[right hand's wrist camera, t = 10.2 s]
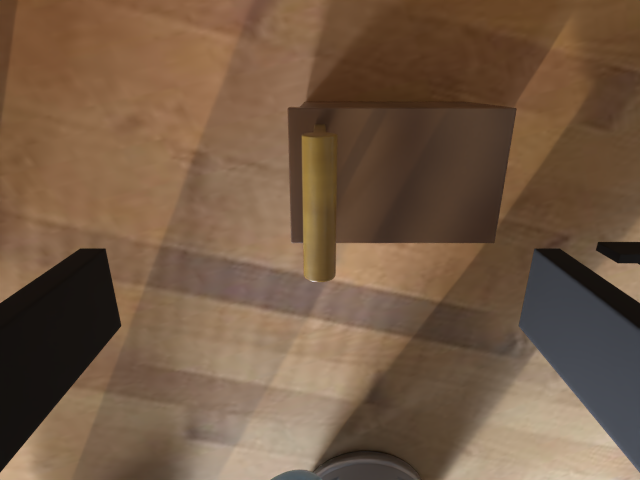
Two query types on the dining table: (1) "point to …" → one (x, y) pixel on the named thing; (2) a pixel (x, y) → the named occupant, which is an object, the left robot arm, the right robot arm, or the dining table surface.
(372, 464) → the left robot arm
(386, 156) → the lid
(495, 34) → the dining table surface
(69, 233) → the dining table surface
